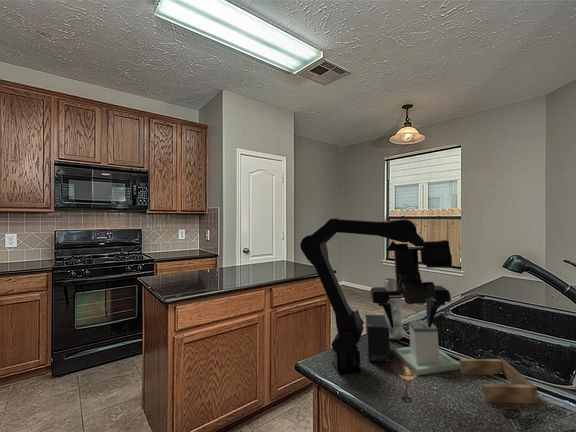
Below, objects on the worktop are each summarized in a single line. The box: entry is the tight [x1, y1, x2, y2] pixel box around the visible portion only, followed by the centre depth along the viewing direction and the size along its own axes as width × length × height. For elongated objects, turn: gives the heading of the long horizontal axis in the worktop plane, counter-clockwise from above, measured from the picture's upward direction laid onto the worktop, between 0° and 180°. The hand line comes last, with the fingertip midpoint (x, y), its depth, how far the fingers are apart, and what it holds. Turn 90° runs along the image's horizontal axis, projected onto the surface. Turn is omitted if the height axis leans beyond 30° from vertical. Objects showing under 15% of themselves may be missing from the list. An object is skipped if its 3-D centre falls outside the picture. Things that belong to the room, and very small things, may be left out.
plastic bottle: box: [383, 277, 405, 341], centre depth 101 cm, size 6×7×20 cm
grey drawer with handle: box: [408, 319, 440, 365], centre depth 85 cm, size 6×6×11 cm
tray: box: [392, 346, 461, 376], centre depth 85 cm, size 12×12×2 cm
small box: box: [364, 314, 391, 363], centre depth 91 cm, size 11×6×10 cm, turn 168°
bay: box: [459, 358, 539, 405], centre depth 71 cm, size 10×12×4 cm
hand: (410, 327), depth 77 cm, fingers open, 9 cm apart
